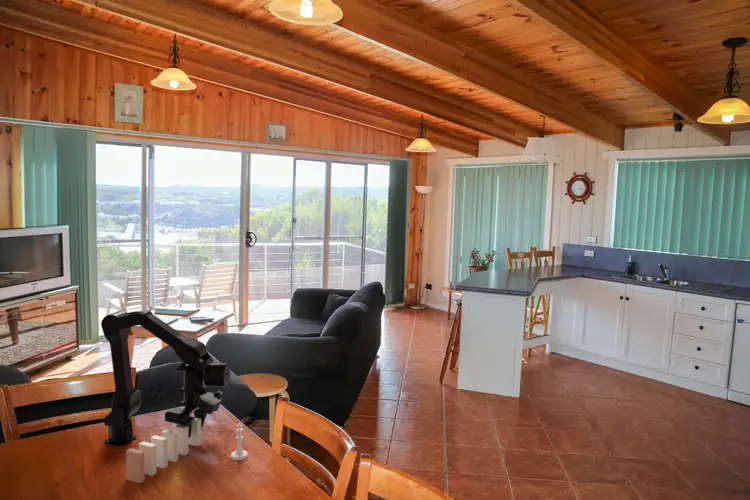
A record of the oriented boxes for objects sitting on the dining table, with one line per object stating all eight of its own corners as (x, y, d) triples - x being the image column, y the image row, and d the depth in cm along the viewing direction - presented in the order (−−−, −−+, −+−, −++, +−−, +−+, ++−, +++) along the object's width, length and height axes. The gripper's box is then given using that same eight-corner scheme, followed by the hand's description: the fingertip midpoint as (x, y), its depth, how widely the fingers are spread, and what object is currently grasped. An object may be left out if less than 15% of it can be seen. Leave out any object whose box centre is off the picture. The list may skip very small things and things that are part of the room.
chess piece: (243, 461, 149) (243, 427, 148) (227, 459, 150) (227, 425, 149) (250, 453, 154) (251, 420, 153) (235, 451, 155) (235, 418, 154)
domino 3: (150, 465, 146) (150, 437, 145) (155, 462, 147) (154, 435, 146) (163, 468, 144) (163, 440, 143) (167, 465, 146) (167, 438, 145)
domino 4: (161, 458, 150) (161, 431, 149) (165, 456, 151) (165, 429, 150) (174, 461, 148) (174, 434, 147) (178, 459, 149) (178, 432, 149)
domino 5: (172, 452, 153) (172, 425, 153) (176, 449, 155) (176, 423, 154) (184, 455, 152) (184, 428, 151) (188, 452, 153) (188, 426, 153)
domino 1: (126, 479, 138) (126, 450, 137) (131, 476, 139) (131, 447, 139) (139, 483, 136) (139, 453, 136) (144, 480, 138) (144, 451, 137)
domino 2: (139, 472, 142) (138, 443, 141) (143, 469, 143) (143, 441, 143) (152, 475, 140) (151, 446, 139) (156, 472, 142) (156, 444, 141)
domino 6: (185, 443, 159) (185, 418, 159) (189, 441, 161) (189, 416, 160) (197, 446, 158) (197, 420, 157) (201, 444, 159) (201, 418, 158)
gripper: (194, 398, 146) (194, 452, 147) (235, 378, 163) (235, 427, 165) (163, 392, 150) (163, 445, 151) (206, 373, 167) (206, 421, 169)
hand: (194, 434), depth 159 cm, fingers open, 4 cm apart
